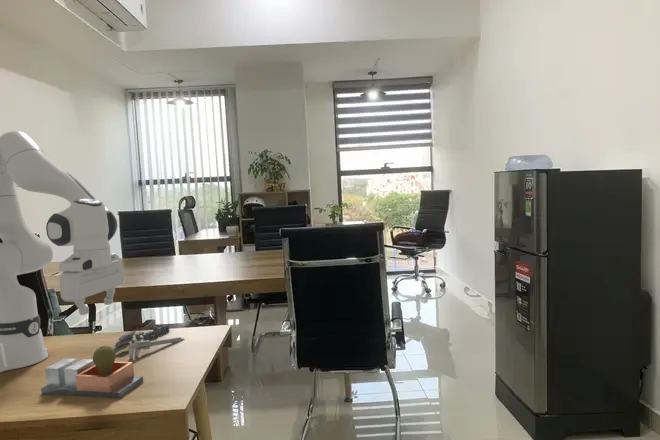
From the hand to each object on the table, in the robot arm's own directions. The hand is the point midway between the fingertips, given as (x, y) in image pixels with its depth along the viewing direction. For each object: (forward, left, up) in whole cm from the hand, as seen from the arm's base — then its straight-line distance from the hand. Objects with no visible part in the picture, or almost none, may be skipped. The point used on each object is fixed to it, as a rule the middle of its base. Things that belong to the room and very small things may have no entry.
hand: (96, 309), depth 127 cm
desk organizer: (-1, -2, -22) cm, 22 cm away
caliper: (-1, +27, -22) cm, 35 cm away
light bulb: (+2, -2, -20) cm, 20 cm away
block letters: (-10, +33, -22) cm, 41 cm away
